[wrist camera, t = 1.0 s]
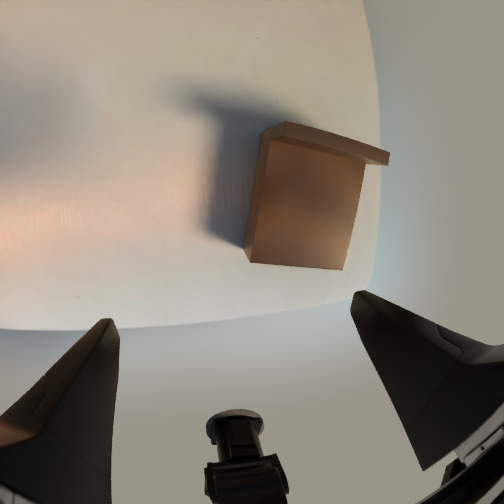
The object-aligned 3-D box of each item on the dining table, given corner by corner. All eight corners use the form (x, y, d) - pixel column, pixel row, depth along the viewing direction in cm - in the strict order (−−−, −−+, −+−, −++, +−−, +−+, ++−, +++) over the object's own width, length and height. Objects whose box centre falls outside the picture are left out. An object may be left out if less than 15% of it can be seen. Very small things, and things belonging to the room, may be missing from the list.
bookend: (326, 257, 25) (360, 285, 19) (243, 249, 23) (258, 278, 18) (348, 152, 22) (390, 152, 16) (262, 131, 21) (285, 120, 15)
